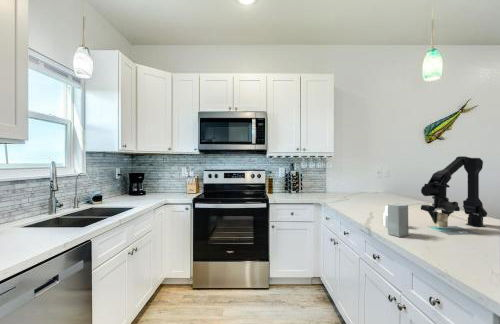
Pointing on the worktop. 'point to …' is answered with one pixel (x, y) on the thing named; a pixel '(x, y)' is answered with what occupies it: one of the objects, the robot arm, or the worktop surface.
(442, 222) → the maple block
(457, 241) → the worktop surface
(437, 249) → the worktop surface
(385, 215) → the medicine bottle
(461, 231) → the mat
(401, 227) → the skincare box
